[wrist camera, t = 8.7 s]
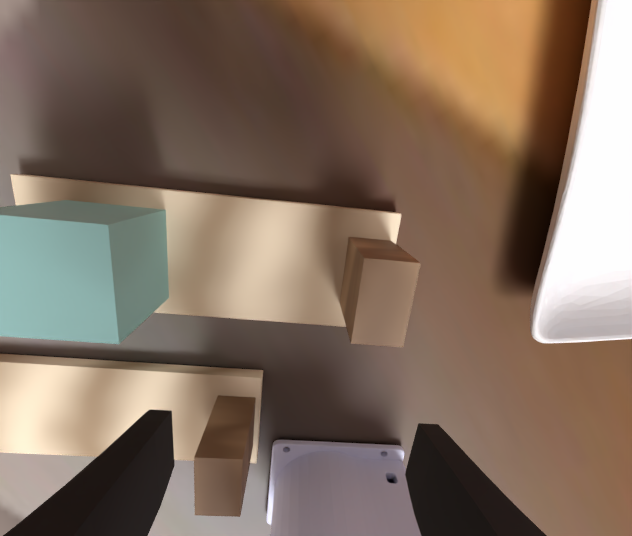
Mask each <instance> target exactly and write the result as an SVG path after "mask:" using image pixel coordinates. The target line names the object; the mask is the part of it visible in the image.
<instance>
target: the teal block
mask: <svg viewBox="0 0 632 536" xmlns="http://www.w3.org/2000/svg"><path fill="white" fill-rule="evenodd" d="M168 298H169V283H168V256H167V230H166V210H164V209H153V208H143V207H133V206H122V205H112V204H102V203H92V202H81V201H71V200H61V201H52V202H43V203H34V204H25V205H16V206H7V207H0V336H6V337H20V338H35V339H50V340H65V341H80V342H95V343H110V344H120V343H121V342H122V341H123V340H124V339H125V338H126V337H127V336H128V335H129V334H131V333H132V332H133V331H134V330H135V329H136V328H137V327H138V326H139V325H140V324H141V323H142V322H143V321H145V320H146V319H147V318H148V317H149V316H150V315H151V314H152V313H153V312H154V311H155V310H156V309H157V308H159V307H160V306H161V305H162V304H163V303H164V302H165V301H166V300H167V299H168Z"/></svg>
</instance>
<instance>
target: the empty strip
mask: <svg viewBox="0 0 632 536" xmlns="http://www.w3.org/2000/svg"><path fill="white" fill-rule="evenodd" d="M262 381H263V370H251V369H235V368H220V367H204V366H188V365H172V364H157V363H141V362H125V361H109V360H94V359H78V358H62V357H46V356H31V355H15V354H0V452H2V453H26V454H49V455H73V456H96V457H98V456H99V455H100V454H101V453H102V452H103V451H104V450H105V449H107V448H108V447H109V446H110V445H111V444H112V443H113V442H114V441H115V440H116V439H118V438H119V437H120V436H121V435H122V434H123V433H124V432H125V431H126V430H127V429H128V428H129V427H131V426H132V425H133V424H134V423H135V422H136V421H137V420H138V419H139V418H140V417H141V416H143V415H144V414H145V413H146V412H147V411H148V410H170V411H172V426H173V447H174V460H190V461H194V486H195V515H205V516H238V517H240V515H241V509H242V504H243V498H244V493H245V487H246V482H247V476H248V471H249V465H250V463H257V456H258V445H259V429H260V413H261V397H262Z"/></svg>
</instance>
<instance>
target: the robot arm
mask: <svg viewBox="0 0 632 536" xmlns="http://www.w3.org/2000/svg"><path fill="white" fill-rule="evenodd" d="M285 447H288V448H285ZM383 451H385V452H383ZM403 458H404V450H403V448H402V447H401V446H399V445H382V444H361V443H340V442H320V441H299V440H276V441H274V443H273V445H272V457H271V469H270V482H269V495H268V507H267V523H268V524H270V525H271V532H270V536H546V535H545V534H544V533H543V532H542V531H541V530H540V529H539V528H538V527H537V526H536V525H535V524H534V523H533V522H532V521H531V520H530V519H529V518H528V517H526V516H525V515H524V514H523V513H522V512H521V511H520V510H519V509H518V508H517V507H516V506H515V505H514V504H513V503H512V502H511V501H510V500H509V499H508V498H507V497H506V496H505V495H504V494H503V493H502V491H501V490H500V489H499V488H498V487H497V486H496V485H495V484H494V483H493V482H492V481H491V480H490V479H489V478H488V477H487V476H486V475H485V474H484V473H483V472H482V471H481V470H480V469H479V467H478V466H477V465H476V464H475V463H474V462H473V461H472V460H471V459H470V458H469V457H468V456H467V455H466V454H465V452H464V451H463V450H462V449H461V448H460V447H459V446H458V445H457V444H456V443H455V442H454V441H453V440H452V439H451V437H450V436H449V435H448V434H447V433H446V432H445V431H444V430H443V429H442V428H441V427H440V426H439V425H438V424H419V423H418V427H417V431H416V435H415V439H414V442H413V446H412V450H411V454H410V457H409V461H408V465H407V469H405V466H404V464H403ZM173 468H174V447H173V426H172V411H170V410H148V411H147V412H146V413H145V414H144V415H143V416H141V417H140V418H139V419H138V420H137V421H136V422H135V423H134V424H133V425H132V426H131V427H129V428H128V429H127V430H126V431H125V432H124V433H123V434H122V435H121V436H120V437H119V438H118V439H116V440H115V441H114V442H113V443H112V444H111V445H110V446H109V447H108V448H107V449H105V450H104V451H103V452H102V453H101V454H100V455H99V456H98V457H97V458H95V459H94V460H93V461H92V462H91V463H90V464H89V465H88V466H86V467H85V468H84V469H83V470H82V471H81V472H80V473H78V474H77V475H76V476H75V477H74V478H73V479H72V480H70V481H69V482H68V483H67V484H66V485H65V486H63V487H62V488H61V489H60V490H59V491H57V492H56V493H55V494H54V495H53V496H51V497H50V498H49V499H48V500H47V501H45V502H44V503H43V504H42V505H41V506H39V507H38V508H37V509H36V510H34V511H33V512H32V513H31V514H30V515H28V516H27V517H26V518H25V519H24V520H22V521H21V522H20V523H19V524H17V525H16V526H15V527H14V528H12V529H11V530H10V531H9V532H7V533H6V534H5V535H3V536H147V535H148V533H149V531H150V528H151V526H152V524H153V522H154V520H155V517H156V515H157V513H158V510H159V508H160V506H161V503H162V500H163V497H164V494H165V491H166V489H167V486H168V483H169V480H170V477H171V474H172V471H173Z"/></svg>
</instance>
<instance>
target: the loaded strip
mask: <svg viewBox="0 0 632 536" xmlns="http://www.w3.org/2000/svg"><path fill="white" fill-rule="evenodd" d="M10 175H11V181H12V186H13V192H14V198H15V203H16V205H25V204H34V203H43V202H52V201H61V200H71V201H81V202H92V203H102V204H112V205H122V206H133V207H143V208H153V209H164V210H166V230H167V256H168V283H169V298H168V299H167V300H166V301H165V302H164V303H163V304H162V305H161V306H160V307H159V308H157V309H156V310H155V311H154V313H167V314H181V315H194V316H208V317H221V318H234V319H248V320H261V321H275V322H288V323H301V324H315V325H328V326H342V327H346V328H347V331H348V335H349V338H350V342H351V344H363V345H377V346H391V347H403V345H404V341H405V336H406V331H407V327H408V322H409V317H410V312H411V308H412V303H413V298H414V293H415V289H416V284H417V279H418V274H419V270H420V265H421V263H420V262H419V261H417V260H416V259H415V258H413V257H412V256H411V255H409V254H408V253H407V252H406V251H404V250H403V249H402V248H400V247H399V246H398V245H396V241H397V236H398V230H399V225H400V219H401V214H400V213H397V212H388V211H378V210H369V209H359V208H349V207H339V206H329V205H319V204H310V203H300V202H290V201H280V200H270V199H261V198H251V197H241V196H231V195H221V194H211V193H202V192H192V191H182V190H172V189H162V188H153V187H143V186H133V185H123V184H113V183H103V182H94V181H84V180H74V179H64V178H54V177H45V176H35V175H25V174H10Z"/></svg>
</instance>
